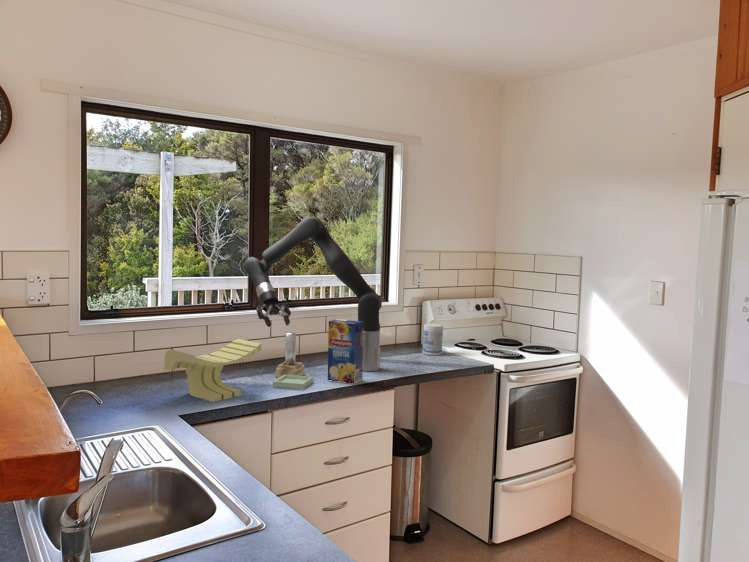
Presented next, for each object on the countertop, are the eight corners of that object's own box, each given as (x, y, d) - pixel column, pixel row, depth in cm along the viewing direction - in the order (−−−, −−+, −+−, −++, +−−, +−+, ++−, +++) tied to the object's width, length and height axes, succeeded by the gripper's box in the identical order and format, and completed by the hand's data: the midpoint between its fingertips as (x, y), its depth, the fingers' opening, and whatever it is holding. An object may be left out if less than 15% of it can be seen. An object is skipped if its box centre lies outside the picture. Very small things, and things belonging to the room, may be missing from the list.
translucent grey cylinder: (296, 366, 253) (297, 332, 252) (293, 368, 249) (293, 334, 248) (287, 365, 254) (287, 331, 253) (283, 367, 250) (284, 333, 249)
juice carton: (362, 380, 248) (363, 321, 246) (354, 384, 241) (355, 323, 239) (336, 376, 253) (337, 319, 251) (327, 380, 246) (328, 321, 244)
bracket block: (304, 374, 255) (304, 362, 255) (296, 379, 246) (296, 367, 246) (283, 373, 257) (284, 361, 257) (275, 378, 248) (275, 365, 248)
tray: (313, 382, 243) (313, 376, 243) (302, 389, 231) (302, 384, 231) (284, 379, 246) (284, 374, 246) (272, 387, 234) (272, 381, 234)
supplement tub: (419, 354, 303) (420, 325, 302) (426, 351, 312) (427, 322, 311) (437, 356, 299) (438, 326, 298) (444, 353, 307) (445, 324, 306)
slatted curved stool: (233, 383, 239) (233, 337, 238) (260, 390, 229) (261, 343, 228) (164, 398, 216) (164, 348, 214) (191, 407, 206) (191, 354, 204)
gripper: (254, 290, 260) (266, 320, 252) (284, 289, 268) (297, 318, 260) (249, 301, 265) (260, 331, 256) (278, 299, 273) (291, 329, 265)
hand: (279, 325), depth 258 cm, fingers open, 8 cm apart
